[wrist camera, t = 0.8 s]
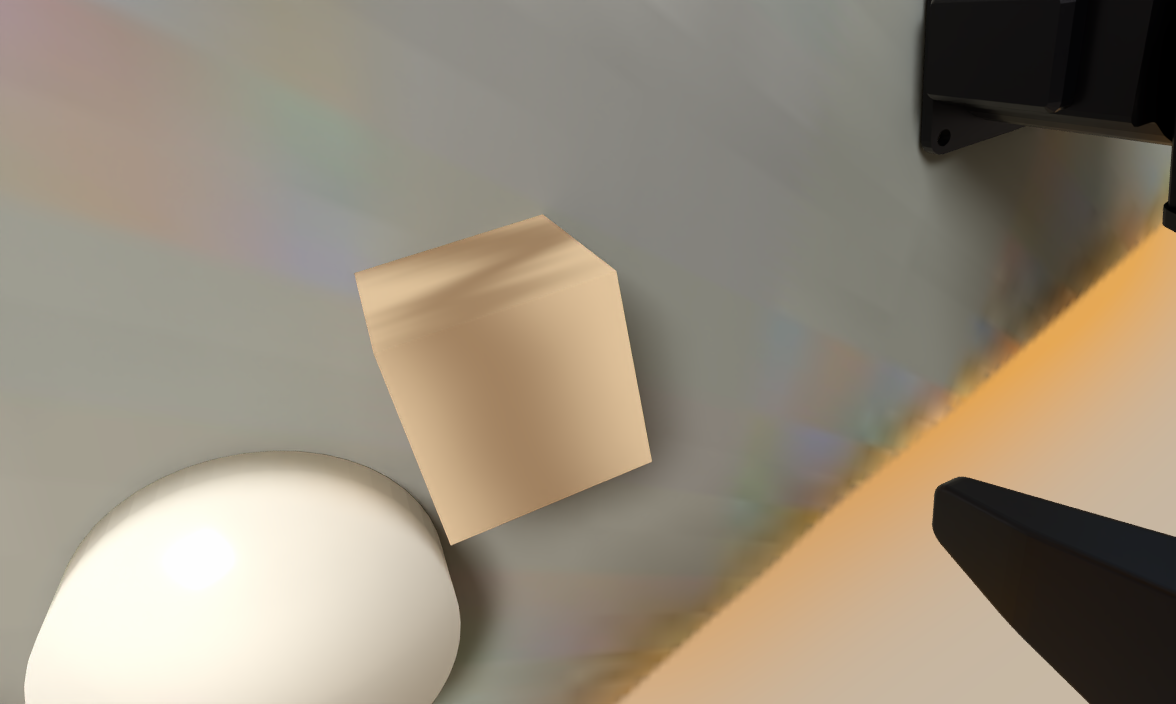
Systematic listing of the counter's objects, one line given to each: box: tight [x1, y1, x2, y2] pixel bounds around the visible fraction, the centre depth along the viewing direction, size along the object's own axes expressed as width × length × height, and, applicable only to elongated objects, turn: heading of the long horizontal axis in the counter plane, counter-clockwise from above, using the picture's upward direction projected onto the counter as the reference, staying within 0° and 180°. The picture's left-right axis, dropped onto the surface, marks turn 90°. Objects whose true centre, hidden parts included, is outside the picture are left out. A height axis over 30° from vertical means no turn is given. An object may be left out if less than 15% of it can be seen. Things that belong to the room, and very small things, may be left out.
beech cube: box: [354, 215, 652, 545], centre depth 17 cm, size 5×5×5 cm
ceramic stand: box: [24, 451, 461, 704], centre depth 19 cm, size 10×10×2 cm
